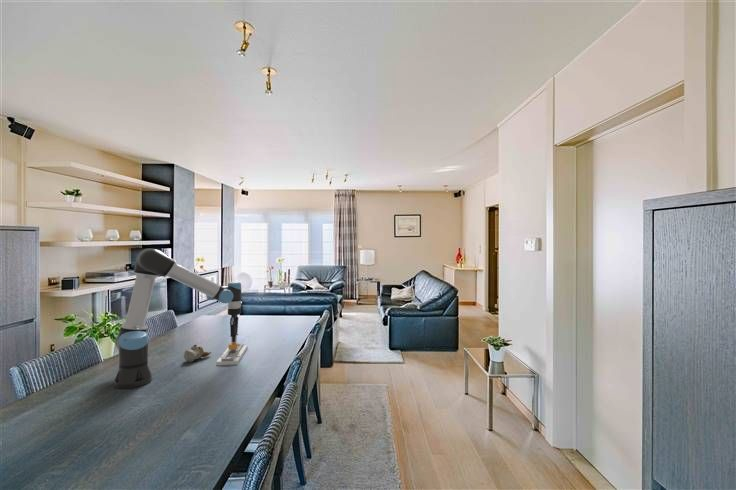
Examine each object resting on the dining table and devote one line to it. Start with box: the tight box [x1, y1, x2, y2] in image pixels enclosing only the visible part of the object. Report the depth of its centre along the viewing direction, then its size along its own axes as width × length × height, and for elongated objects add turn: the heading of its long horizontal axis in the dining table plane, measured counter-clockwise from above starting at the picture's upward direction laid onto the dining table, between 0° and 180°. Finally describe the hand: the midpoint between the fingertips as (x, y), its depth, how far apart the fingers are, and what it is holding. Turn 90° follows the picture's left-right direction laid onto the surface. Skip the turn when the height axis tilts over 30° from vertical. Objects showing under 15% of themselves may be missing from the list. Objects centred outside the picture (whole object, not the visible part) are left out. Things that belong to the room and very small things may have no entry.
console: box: [216, 343, 249, 366], centre depth 208 cm, size 30×11×3 cm, turn 9°
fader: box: [227, 342, 239, 353], centre depth 209 cm, size 3×5×5 cm, turn 99°
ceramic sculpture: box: [183, 344, 212, 363], centre depth 203 cm, size 11×9×15 cm
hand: (233, 346), depth 211 cm, fingers closed
